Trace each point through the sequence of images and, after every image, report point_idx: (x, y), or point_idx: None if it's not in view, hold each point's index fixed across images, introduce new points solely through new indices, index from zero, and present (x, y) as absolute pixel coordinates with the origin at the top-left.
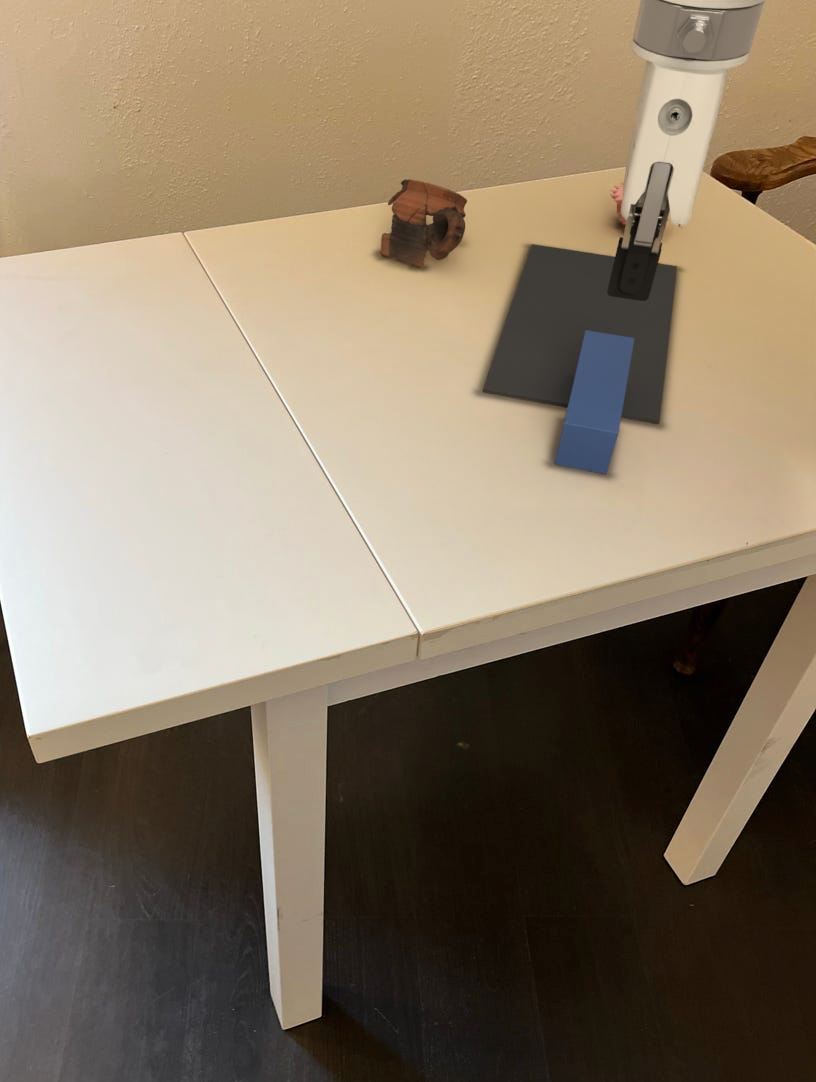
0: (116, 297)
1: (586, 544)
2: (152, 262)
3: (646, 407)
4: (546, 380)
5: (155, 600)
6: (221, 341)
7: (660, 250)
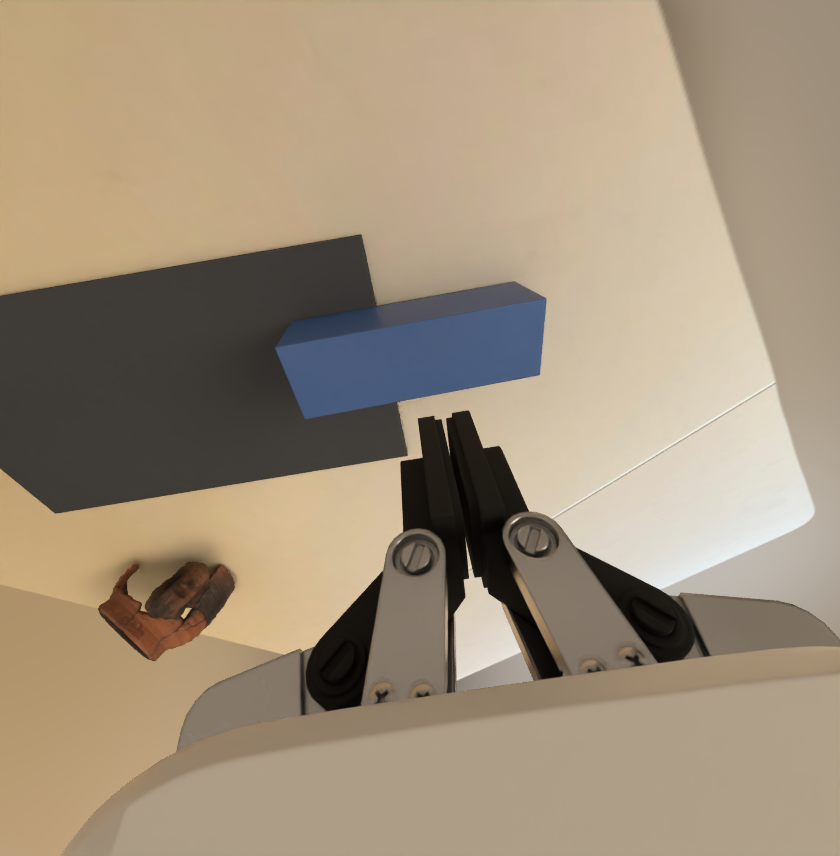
0: None
1: (658, 267)
2: None
3: (337, 266)
4: None
5: (719, 523)
6: None
7: (493, 510)
